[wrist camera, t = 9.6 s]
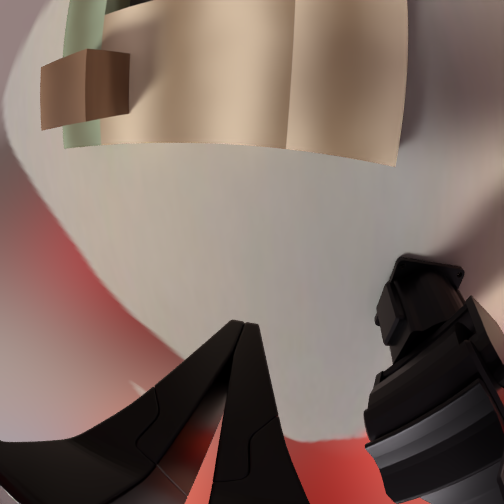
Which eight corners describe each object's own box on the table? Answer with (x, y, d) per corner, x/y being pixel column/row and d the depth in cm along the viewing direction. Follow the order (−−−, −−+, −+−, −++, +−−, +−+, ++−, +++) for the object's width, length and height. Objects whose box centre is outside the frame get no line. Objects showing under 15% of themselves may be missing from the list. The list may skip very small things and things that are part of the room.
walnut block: (130, 53, 12) (86, 48, 9) (128, 113, 14) (85, 121, 11) (84, 66, 13) (41, 67, 10) (84, 119, 15) (41, 130, 12)
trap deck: (388, -48, 8) (398, -66, 5) (382, 157, 16) (395, 166, 13) (100, -26, 11) (77, -34, 8) (89, 140, 19) (64, 148, 16)
